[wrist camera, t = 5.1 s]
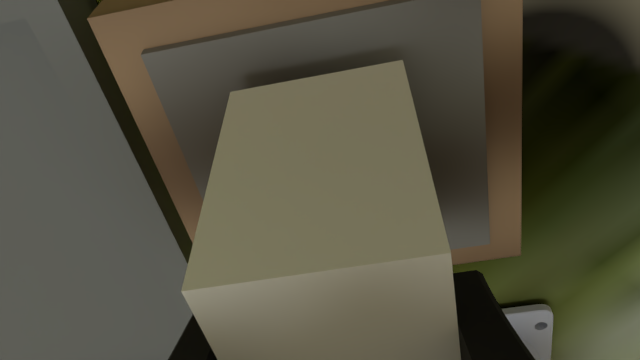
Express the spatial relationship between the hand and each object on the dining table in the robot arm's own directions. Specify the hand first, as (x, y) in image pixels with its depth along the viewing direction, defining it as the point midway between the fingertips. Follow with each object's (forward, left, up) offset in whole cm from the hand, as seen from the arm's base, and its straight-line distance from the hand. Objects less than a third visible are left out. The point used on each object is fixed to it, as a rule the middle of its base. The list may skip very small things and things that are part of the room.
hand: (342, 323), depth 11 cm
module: (0, 0, -5) cm, 5 cm away
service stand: (0, 0, -9) cm, 9 cm away
